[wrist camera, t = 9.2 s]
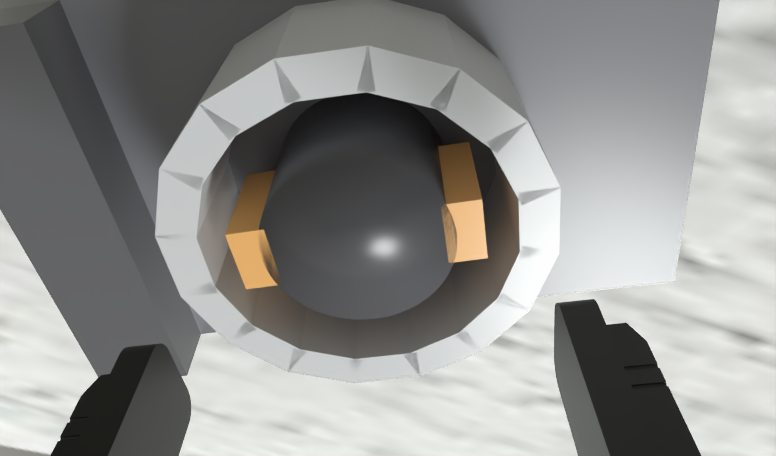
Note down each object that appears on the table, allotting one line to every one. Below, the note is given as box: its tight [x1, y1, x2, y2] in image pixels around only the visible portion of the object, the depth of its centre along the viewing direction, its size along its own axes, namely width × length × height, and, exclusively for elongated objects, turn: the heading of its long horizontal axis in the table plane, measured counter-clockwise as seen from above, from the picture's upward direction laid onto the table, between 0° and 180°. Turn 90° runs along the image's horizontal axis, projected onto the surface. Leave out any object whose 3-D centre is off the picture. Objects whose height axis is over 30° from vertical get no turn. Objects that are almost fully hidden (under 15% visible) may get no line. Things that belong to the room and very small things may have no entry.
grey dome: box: [225, 92, 488, 320], centre depth 17 cm, size 6×5×4 cm
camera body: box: [0, 0, 719, 383], centre depth 20 cm, size 20×12×11 cm, turn 98°
